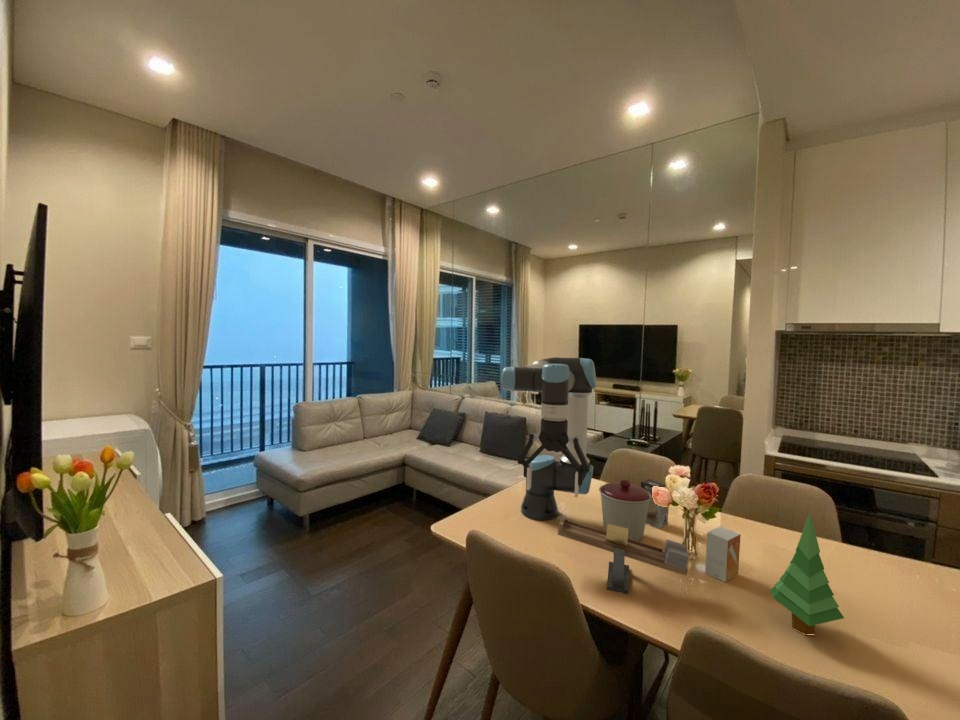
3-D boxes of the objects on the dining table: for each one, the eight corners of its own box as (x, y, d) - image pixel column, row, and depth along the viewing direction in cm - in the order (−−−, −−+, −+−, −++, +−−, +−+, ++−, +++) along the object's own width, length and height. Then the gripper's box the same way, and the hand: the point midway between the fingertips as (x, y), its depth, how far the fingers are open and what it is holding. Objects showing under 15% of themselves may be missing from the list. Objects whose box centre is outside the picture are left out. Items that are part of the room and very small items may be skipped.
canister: (634, 554, 135) (636, 492, 134) (587, 534, 148) (589, 478, 147) (658, 537, 146) (661, 481, 145) (613, 520, 160) (615, 468, 159)
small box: (726, 583, 119) (728, 540, 119) (704, 572, 125) (706, 531, 124) (739, 575, 124) (741, 533, 123) (717, 565, 129) (719, 525, 128)
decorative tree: (753, 609, 107) (759, 500, 106) (813, 612, 107) (819, 502, 106) (791, 648, 94) (798, 523, 92) (859, 651, 93) (868, 525, 92)
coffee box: (638, 520, 160) (639, 481, 160) (647, 516, 164) (648, 478, 163) (659, 529, 153) (661, 488, 152) (668, 525, 156) (670, 485, 156)
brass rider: (606, 536, 123) (607, 523, 123) (626, 541, 121) (628, 528, 121) (605, 542, 119) (606, 529, 119) (626, 548, 117) (628, 535, 117)
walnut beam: (561, 525, 130) (564, 508, 129) (683, 563, 118) (686, 544, 117) (557, 536, 122) (560, 518, 122) (686, 577, 110) (690, 558, 110)
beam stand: (609, 564, 128) (610, 529, 127) (629, 568, 126) (630, 532, 125) (606, 589, 115) (608, 550, 114) (629, 594, 113) (630, 554, 112)
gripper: (508, 416, 114) (506, 489, 115) (599, 424, 105) (596, 503, 106) (515, 412, 121) (513, 481, 122) (601, 419, 112) (598, 493, 113)
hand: (552, 492), depth 114 cm, fingers open, 13 cm apart
